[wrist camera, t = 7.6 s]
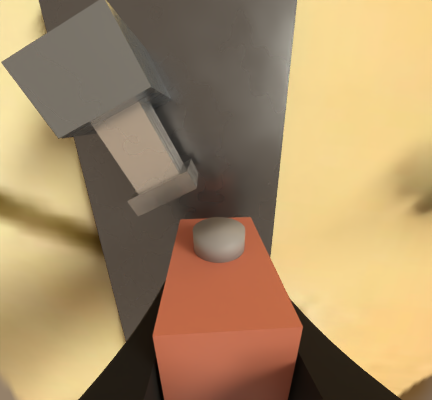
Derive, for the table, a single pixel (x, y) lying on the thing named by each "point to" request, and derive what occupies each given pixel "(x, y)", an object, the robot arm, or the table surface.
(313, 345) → the robot arm
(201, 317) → the block
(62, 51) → the stand
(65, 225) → the table surface
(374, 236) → the table surface
